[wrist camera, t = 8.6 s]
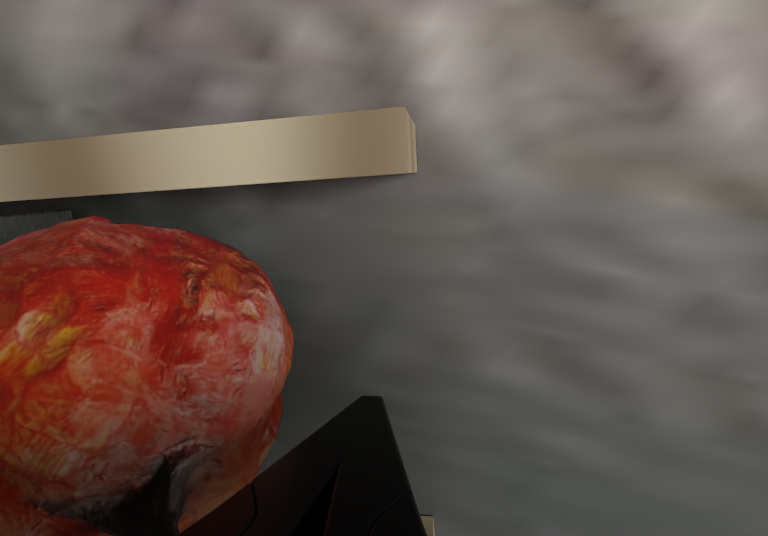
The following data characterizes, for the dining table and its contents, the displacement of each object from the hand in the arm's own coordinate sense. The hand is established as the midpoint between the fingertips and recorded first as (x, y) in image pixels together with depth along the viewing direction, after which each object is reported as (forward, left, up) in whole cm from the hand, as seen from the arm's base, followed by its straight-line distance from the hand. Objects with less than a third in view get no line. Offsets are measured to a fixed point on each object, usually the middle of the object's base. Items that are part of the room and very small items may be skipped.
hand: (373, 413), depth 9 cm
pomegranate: (+5, -1, -3) cm, 6 cm away
